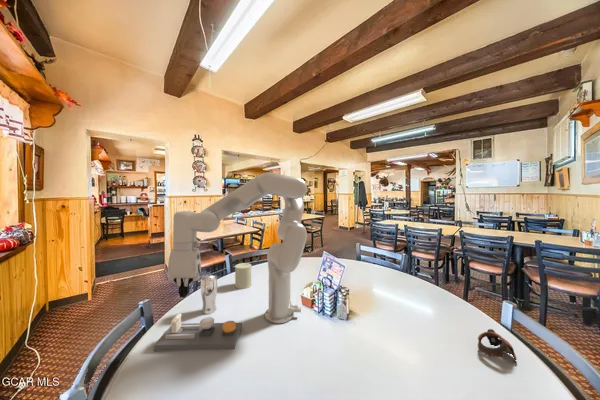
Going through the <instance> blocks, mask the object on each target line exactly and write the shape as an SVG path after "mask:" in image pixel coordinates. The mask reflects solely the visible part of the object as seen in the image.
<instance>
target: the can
mask: <svg viewBox="0 0 600 400" xmlns="http://www.w3.org/2000/svg"><path fill="white" fill-rule="evenodd" d="M234 274H235V275H234V277H235V283H234V284H235V285H234V288H236V289H239V290H240V289H241V290H246V289H249V288H251V286H252V285H253V284H252V264H251V263H248V262H241V263H238V264H235V265H234Z"/></svg>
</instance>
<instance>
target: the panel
mask: <svg viewBox="0 0 600 400" xmlns="http://www.w3.org/2000/svg"><path fill="white" fill-rule="evenodd" d="M223 323H224V322H214V325H213V326H212V327H211V328H209V329H207V330H206V329H201V328H200V322H198V323H197V322H196V323H181V327H180V328H183V330H182V332H181V333H180V334H170V333H171V332H172V324H171V325H170V326H169V328H167V330H166V331H165V332H164V333H163V334H162V335H161V337H160V338H159V339H158V340H157V341H156V343H155V344H154V345H153V351H154V352H161V351H163V352H164V351H165V352H168V351H169V352H171V351H201V350H202V351H204V350H205V351H206V350H207V351H208V350H213V351H214V350H236V347H237V345H238V341H239V337H240V334H241V332H242V329H243V322H236V329H235V330H234V331H233V332H230V333H224V332H223V331H222V325H223Z"/></svg>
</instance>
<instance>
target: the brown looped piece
mask: <svg viewBox="0 0 600 400" xmlns="http://www.w3.org/2000/svg"><path fill="white" fill-rule="evenodd" d="M485 337H486V338H487V340H488V342H489V346H491V345H494V346H493V347H488V346H486V345H484V343H482V341H483V339H484V338H485ZM477 340H478V342H477V349H478V351H479V350H480V351H481V352H480V353H483V354H484V355H486V356H488V357H493V358H502V359H503V360H505V355H504V353H505V354H508V353H509V354H508V355H510V354H512V355H513V357H514V358H513V357H512V358H513V360H514V359H515V360H517V356H516V354H515V351H514V347H513V345H511V343H510V342H509V341H508V340H507V339H506V338H504V337H502V336H501V335H500V334H499V333H496V331H495V330H494V329H492V328H489V329H488V330H486V331H484V332H482V333H480V334H479V335H478V337H477ZM495 346H497V347H495ZM515 360H514V361H515Z"/></svg>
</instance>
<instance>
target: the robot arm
mask: <svg viewBox="0 0 600 400" xmlns="http://www.w3.org/2000/svg"><path fill="white" fill-rule="evenodd" d="M307 192H308V185H307V183H306V181H304V179H302V178H299V177H295V176H290V175H285V174H281V173H276V172H271V171H270V172H269V171H268V172H263V173H260V174H258V175H257V176H255V177H253V178H251V180H249V181H248V182H246V183H244V184H242V185H240V186H238V187H237V188H236V189H235V190H233V191H231V192H230V193H228V194H226V196H224V197H222V198H220V199H219V200H217V201H215V202H214V203H212V204H211V205H210V206H207V207H205V208H204V209H203V210H201V212H194V211H190V210H188V211H186V210H185V211H177V212H174V214H173V222H172V223H173V224H172V249H171V250H170V252H169V256H168V266H167V276H168V278H167V279H168V281H172V282H174V283H175V284H176V286H177V287H178V295H179V298H180V299H181V298H182V299H183V298H186V297H187V296H188V294H190V293H189V292H190V284H191V283H193V282H195V281H196V282H197V281H199V280H201V276H200V274H201V273H202V263H201V262H202V261H201V254H200V253H201V252H200V249H199V248H200V246H201V242H198V240H197V239H198V238H197V232H199V233H213V232H215V231H216V230H218V229H219V227H220V226H221V225H220V224H221V221H223V220H224V219H225V218H227V217H229V216H230V215H233V214H234V213H237V212H238V213H239V212H240V211H244V210H246V209H248V208H249V207H251V206H253V205H254V204H256V203H257V202H258V201H260V200H261V199H262V198H264V197H266V196H267V195H271V196H277V197H282V198H283V201H284V209H283V213H282V216H281V218H280V221H279V225H278V227H277V231H276V233H277V234H276V235H277V237H278V238H279V239H280V240H281V241H282V242H276V243H273V244H272V245H270V247H269V248H268V250H267V254H266V258H267V259H266V261H267V266H268V267H267V268H268V308H267V309H266V310H265V312H264V317H265V320H267V321H268V322H270V323H273V324H284V323H287V322H290V321H291V320H292V319H293V318H294V315H295V313H302V312H301V311H302V309H301V307H298V304H295V305H293V304H292V301H291V290H292V289H291V287H292V286H291V285H292V284H291V278H292V276H291V274H292V272H294V271H295V270H296V269H297V268H298V266H299V264H300V262H301V258H302V255H303V252H304V249H305V246H306V243H307V239H308V232H307V229H306V227H305V226H304V225H303V224H302V218H303V215H304V212H305V211H304V210H305V206H304V205H305V204H304V200H303V197H304V196H306V194H307ZM198 247H199V248H198Z"/></svg>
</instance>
